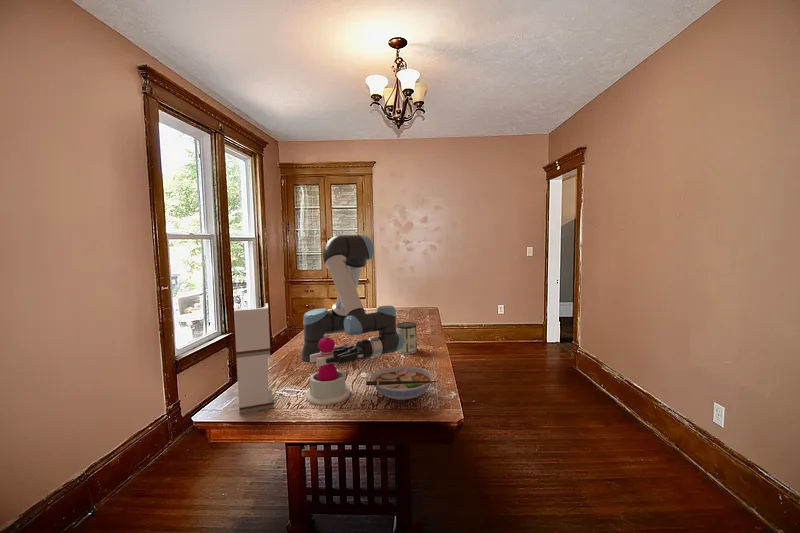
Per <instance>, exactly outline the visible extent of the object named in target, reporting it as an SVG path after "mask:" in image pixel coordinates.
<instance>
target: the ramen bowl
mask: <svg viewBox="0 0 800 533" xmlns="http://www.w3.org/2000/svg"><path fill="white" fill-rule="evenodd" d="M370 379H371V380H367V381H365V386H366V387H367V386H374V388H376V390H377V391H378V392H379V393H380V394H381V395H383V396H384V397H386V398H390V399H393V400H397V401H408V400H411V399H414V398H417V397H419V396H421V395H423V393H425V392H426V391H427V390H428V388H430V386H431V385H432V384H431V383H439V380H434V375H433V374H432V372H431V371H430V370H427V369H425V368H422V367H417V366H412V365H411V366H408V365H398V366H390V367H386V368H382V369H379V370H377V371H375V372H374V373H373V374H372V375H371V377H370Z"/></svg>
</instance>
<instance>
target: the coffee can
mask: <svg viewBox="0 0 800 533" xmlns="http://www.w3.org/2000/svg"><path fill="white" fill-rule="evenodd" d="M417 325H418V324H417V323H416V322H412V321H403V322H398V323H396V331H397V333H399V334H400V335H401V336H402V339H403V347H402V349H401V350H398V351H397V353H399V354H402V355H410V354H415V353H416V352H418V341H417V339H418V338H417V335H418V334H417Z"/></svg>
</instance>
